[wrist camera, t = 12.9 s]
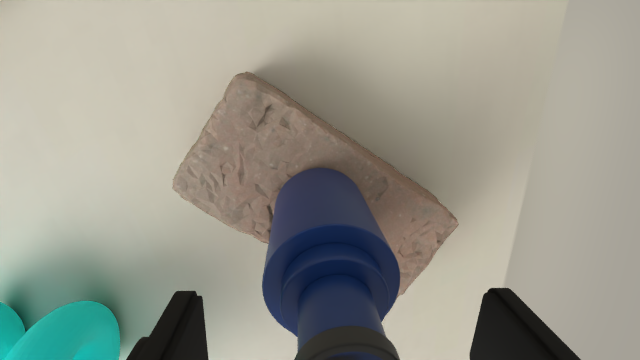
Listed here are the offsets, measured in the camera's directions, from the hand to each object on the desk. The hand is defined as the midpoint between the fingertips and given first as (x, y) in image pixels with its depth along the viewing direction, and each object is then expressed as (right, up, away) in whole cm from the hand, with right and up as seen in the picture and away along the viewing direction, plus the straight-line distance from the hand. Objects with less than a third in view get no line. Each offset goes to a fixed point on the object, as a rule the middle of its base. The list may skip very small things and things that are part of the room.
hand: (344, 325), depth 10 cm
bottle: (-1, +3, +8) cm, 9 cm away
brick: (-1, +4, +13) cm, 13 cm away
